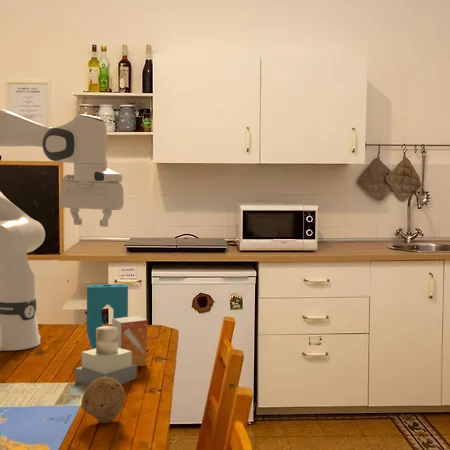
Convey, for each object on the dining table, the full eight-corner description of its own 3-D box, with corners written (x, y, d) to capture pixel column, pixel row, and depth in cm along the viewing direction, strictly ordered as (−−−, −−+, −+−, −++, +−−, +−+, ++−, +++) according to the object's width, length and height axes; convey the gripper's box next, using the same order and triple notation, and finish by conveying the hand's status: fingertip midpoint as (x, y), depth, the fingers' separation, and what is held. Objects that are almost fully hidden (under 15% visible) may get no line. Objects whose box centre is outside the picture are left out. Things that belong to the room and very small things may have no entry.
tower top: (81, 367, 164) (81, 351, 163) (108, 359, 171) (108, 345, 170) (104, 374, 158) (104, 358, 158) (131, 366, 165) (131, 351, 165)
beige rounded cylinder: (92, 351, 164) (92, 328, 164) (110, 347, 168) (110, 325, 167) (102, 355, 160) (102, 332, 160) (121, 352, 164) (121, 329, 163)
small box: (120, 369, 174) (120, 322, 173) (111, 363, 179) (111, 318, 178) (147, 365, 178) (147, 319, 177) (137, 359, 183) (137, 315, 182)
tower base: (75, 383, 163) (75, 368, 163) (104, 372, 172) (104, 358, 172) (108, 391, 157) (108, 375, 157) (136, 379, 167) (136, 364, 166)
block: (86, 354, 188) (86, 287, 186) (87, 349, 193) (87, 284, 191) (127, 352, 190) (128, 286, 189) (127, 348, 195) (127, 283, 193)
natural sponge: (77, 430, 132) (77, 383, 131) (86, 414, 141) (86, 370, 140) (121, 431, 132) (121, 384, 131) (127, 415, 141) (127, 370, 140)
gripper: (54, 174, 175) (54, 224, 176) (111, 175, 165) (111, 228, 166) (70, 174, 180) (70, 223, 181) (127, 175, 170) (126, 226, 171)
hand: (90, 225), depth 173 cm, fingers open, 8 cm apart
